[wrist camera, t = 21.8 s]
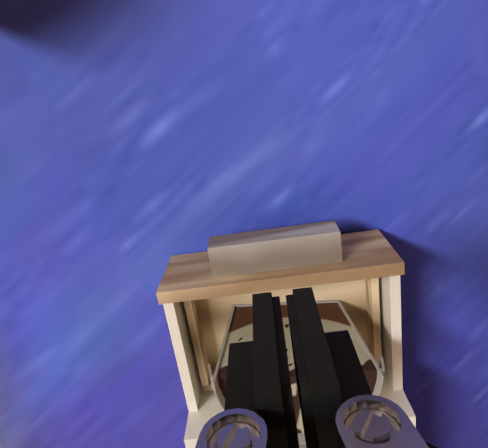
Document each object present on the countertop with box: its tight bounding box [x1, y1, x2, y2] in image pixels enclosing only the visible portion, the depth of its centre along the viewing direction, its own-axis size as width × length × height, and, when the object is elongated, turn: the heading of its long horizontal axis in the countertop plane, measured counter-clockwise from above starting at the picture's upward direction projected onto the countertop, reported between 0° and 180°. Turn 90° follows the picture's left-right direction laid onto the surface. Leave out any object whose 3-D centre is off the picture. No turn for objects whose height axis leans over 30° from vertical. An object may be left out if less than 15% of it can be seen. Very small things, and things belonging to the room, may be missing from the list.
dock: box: [163, 275, 416, 448], centre depth 38 cm, size 22×18×10 cm
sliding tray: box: [156, 221, 405, 391], centre depth 36 cm, size 14×18×7 cm
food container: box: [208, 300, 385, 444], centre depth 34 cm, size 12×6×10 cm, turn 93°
